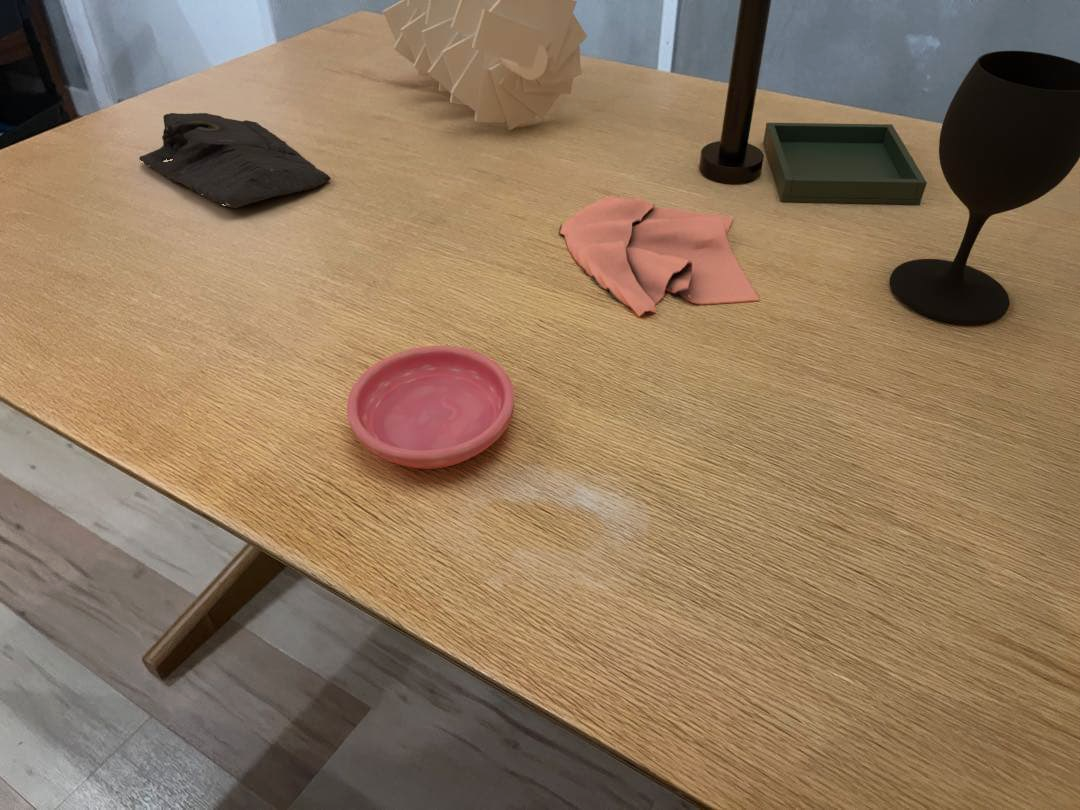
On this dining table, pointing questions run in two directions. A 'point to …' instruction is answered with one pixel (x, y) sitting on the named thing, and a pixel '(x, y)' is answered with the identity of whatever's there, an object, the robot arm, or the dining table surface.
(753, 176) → the post
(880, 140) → the tray
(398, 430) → the saucer
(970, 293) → the wine glass
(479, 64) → the spiral staircase
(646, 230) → the cloth
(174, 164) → the folded black garment
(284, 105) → the dining table surface
